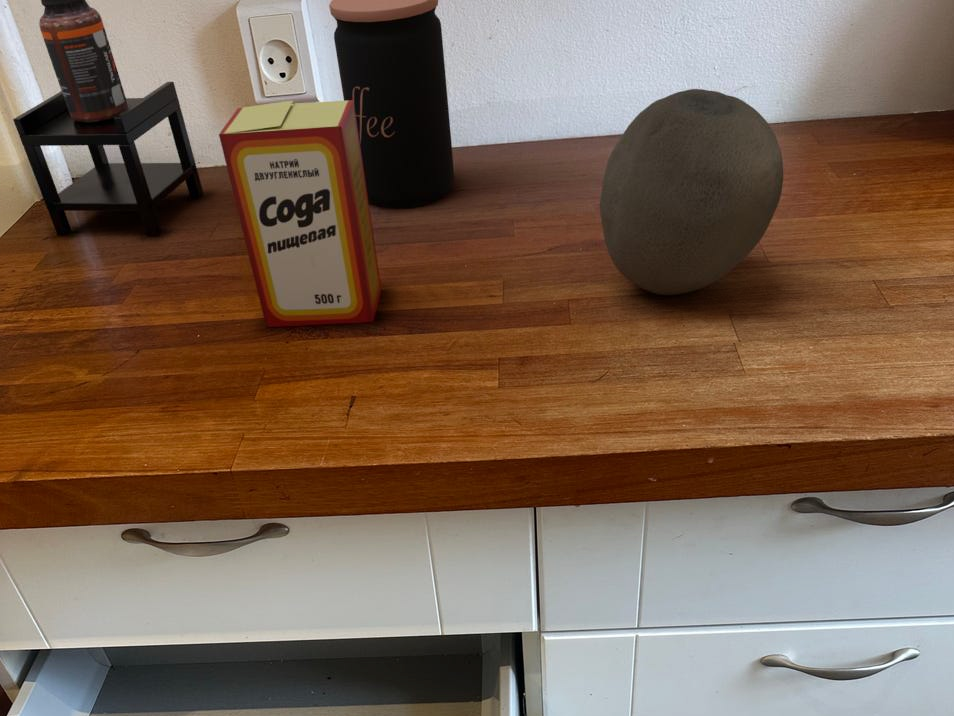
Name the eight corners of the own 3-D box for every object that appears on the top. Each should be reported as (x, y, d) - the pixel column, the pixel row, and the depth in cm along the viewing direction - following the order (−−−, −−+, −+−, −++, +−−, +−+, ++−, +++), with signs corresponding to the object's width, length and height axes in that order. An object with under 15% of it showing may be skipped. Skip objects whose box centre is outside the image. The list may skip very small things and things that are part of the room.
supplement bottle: (141, 112, 98) (102, -19, 90) (90, 128, 95) (45, -5, 87) (111, 103, 101) (71, -24, 93) (61, 119, 98) (15, -11, 90)
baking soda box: (381, 288, 87) (352, 94, 76) (372, 321, 82) (340, 120, 71) (280, 294, 88) (236, 103, 76) (266, 327, 83) (217, 128, 72)
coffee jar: (344, 188, 106) (313, -2, 93) (430, 166, 109) (411, -21, 96) (381, 218, 99) (352, 17, 86) (472, 193, 102) (457, -4, 89)
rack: (57, 235, 102) (12, 119, 94) (110, 193, 111) (73, 83, 103) (157, 236, 100) (120, 117, 92) (204, 194, 108) (173, 81, 100)
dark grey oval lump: (668, 340, 76) (682, 138, 66) (568, 281, 85) (566, 95, 75) (799, 290, 81) (833, 94, 70) (691, 239, 90) (706, 59, 79)
